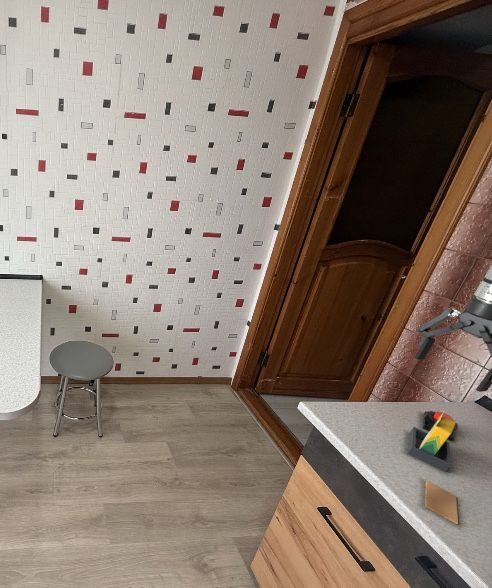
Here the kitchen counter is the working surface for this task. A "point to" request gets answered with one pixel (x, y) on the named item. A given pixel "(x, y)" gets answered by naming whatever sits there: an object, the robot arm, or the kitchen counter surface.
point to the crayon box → (437, 435)
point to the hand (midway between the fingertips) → (448, 373)
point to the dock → (426, 457)
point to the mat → (441, 502)
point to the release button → (438, 414)
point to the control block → (430, 422)
